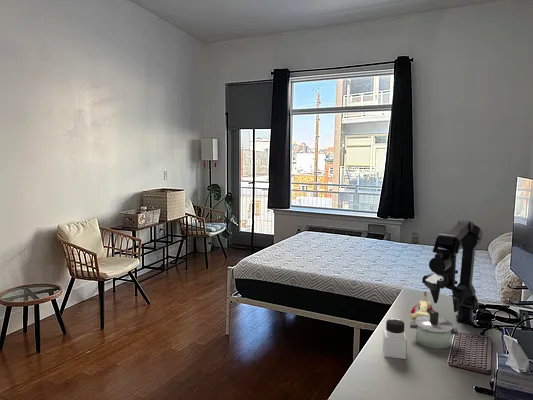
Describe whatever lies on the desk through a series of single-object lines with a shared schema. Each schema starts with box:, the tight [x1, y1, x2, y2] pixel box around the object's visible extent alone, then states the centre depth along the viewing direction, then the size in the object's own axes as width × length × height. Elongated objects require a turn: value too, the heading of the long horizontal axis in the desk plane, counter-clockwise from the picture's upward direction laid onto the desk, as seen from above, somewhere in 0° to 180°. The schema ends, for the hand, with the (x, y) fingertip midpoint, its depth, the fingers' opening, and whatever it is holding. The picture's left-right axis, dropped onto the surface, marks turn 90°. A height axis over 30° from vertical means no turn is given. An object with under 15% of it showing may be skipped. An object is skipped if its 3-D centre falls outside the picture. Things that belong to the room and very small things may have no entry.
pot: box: [409, 321, 459, 350], centre depth 148 cm, size 12×16×6 cm
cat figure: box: [409, 291, 435, 322], centre depth 171 cm, size 10×9×25 cm
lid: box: [414, 310, 454, 333], centre depth 148 cm, size 13×13×5 cm
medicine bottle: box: [382, 317, 408, 360], centre depth 139 cm, size 7×7×12 cm
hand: (445, 307), depth 149 cm, fingers open, 9 cm apart
